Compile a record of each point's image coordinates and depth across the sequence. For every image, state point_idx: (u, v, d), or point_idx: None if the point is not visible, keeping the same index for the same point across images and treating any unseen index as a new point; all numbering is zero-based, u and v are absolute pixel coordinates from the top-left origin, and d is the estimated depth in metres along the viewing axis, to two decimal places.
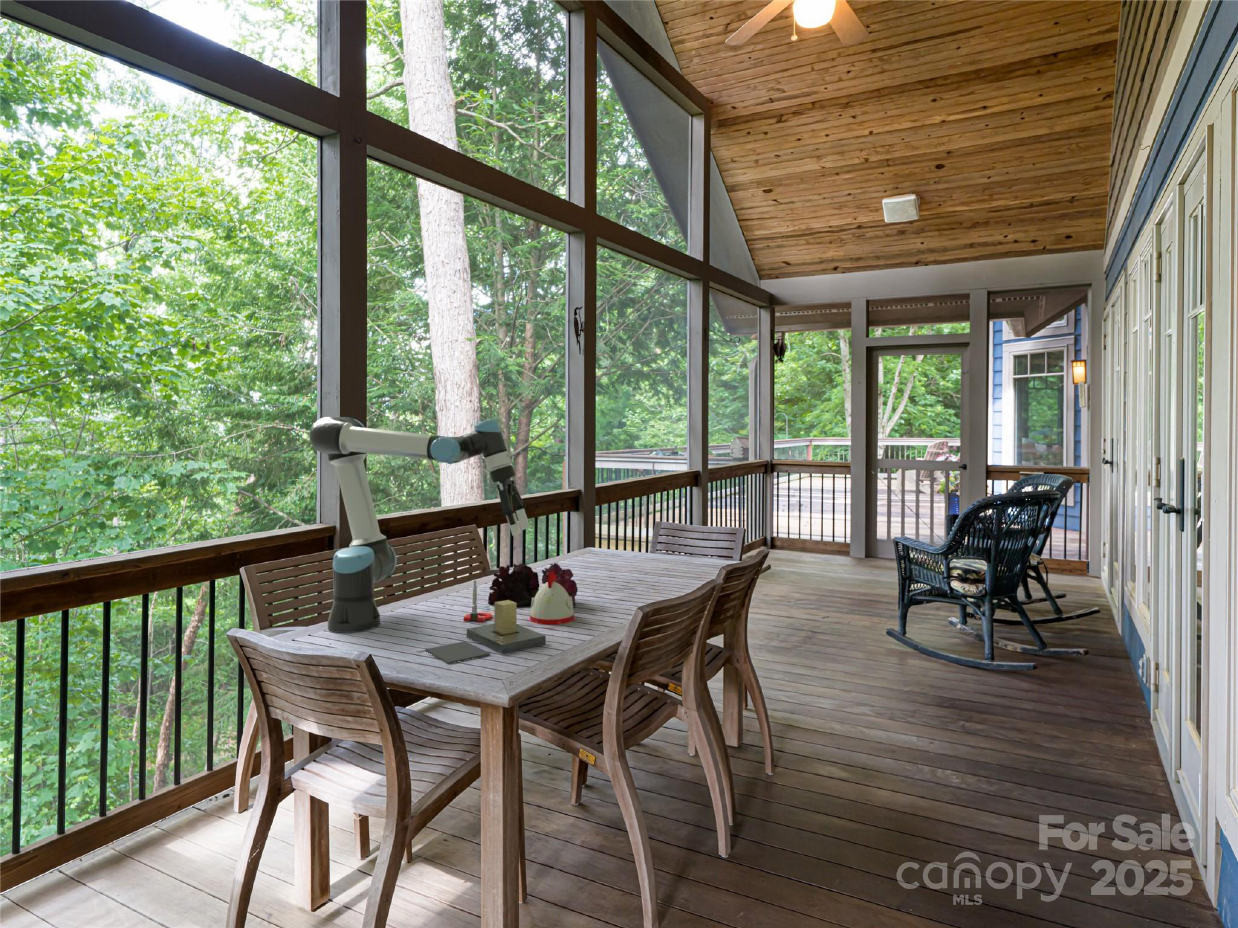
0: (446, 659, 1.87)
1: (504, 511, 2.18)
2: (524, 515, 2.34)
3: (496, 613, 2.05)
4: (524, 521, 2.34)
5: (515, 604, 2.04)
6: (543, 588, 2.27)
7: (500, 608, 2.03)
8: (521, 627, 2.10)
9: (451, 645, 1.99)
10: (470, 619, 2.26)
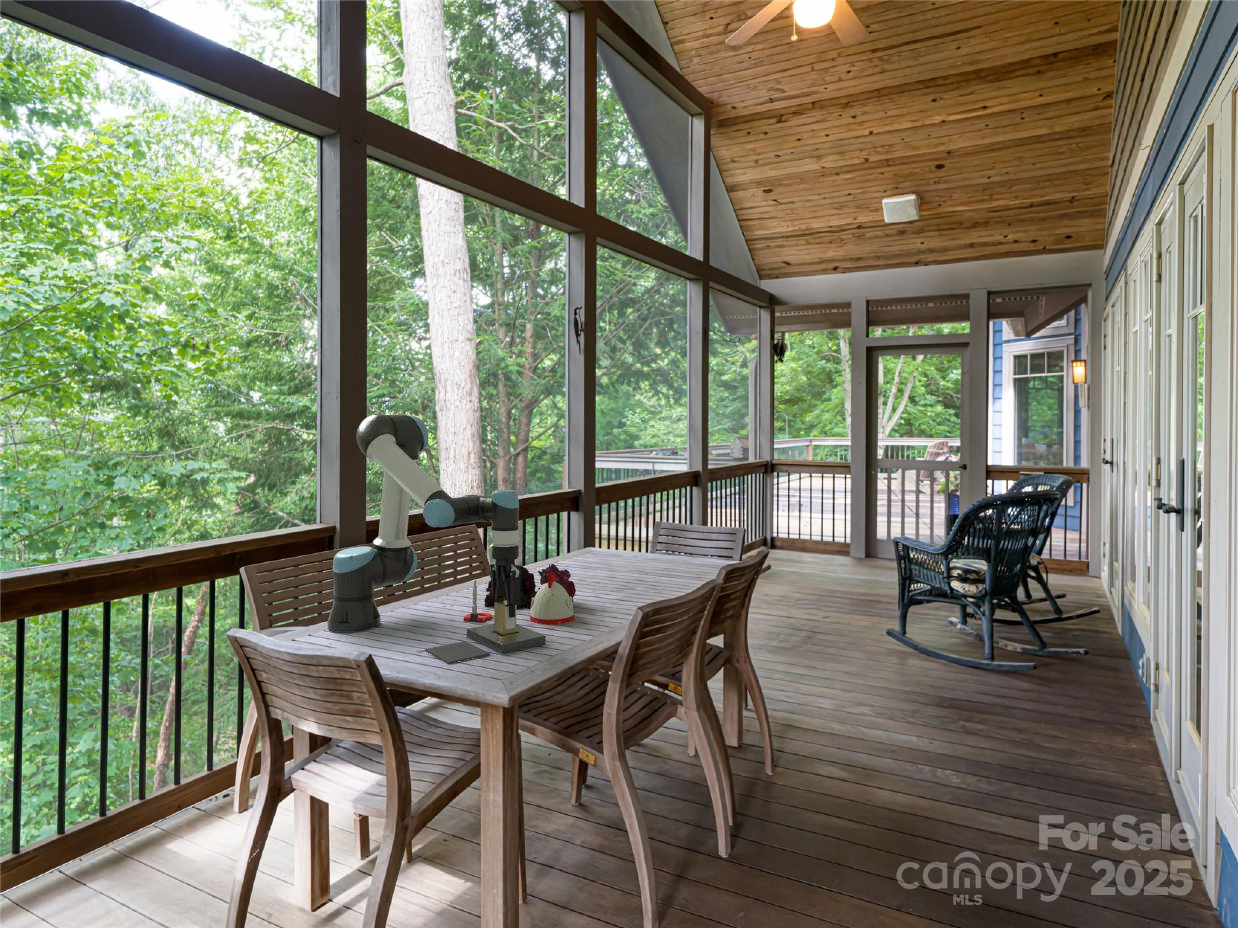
0: (446, 659, 1.87)
1: (514, 603, 2.00)
2: None
3: (496, 613, 2.05)
4: None
5: None
6: (543, 588, 2.27)
7: (500, 608, 2.03)
8: (521, 627, 2.10)
9: (451, 645, 1.99)
10: (470, 619, 2.26)
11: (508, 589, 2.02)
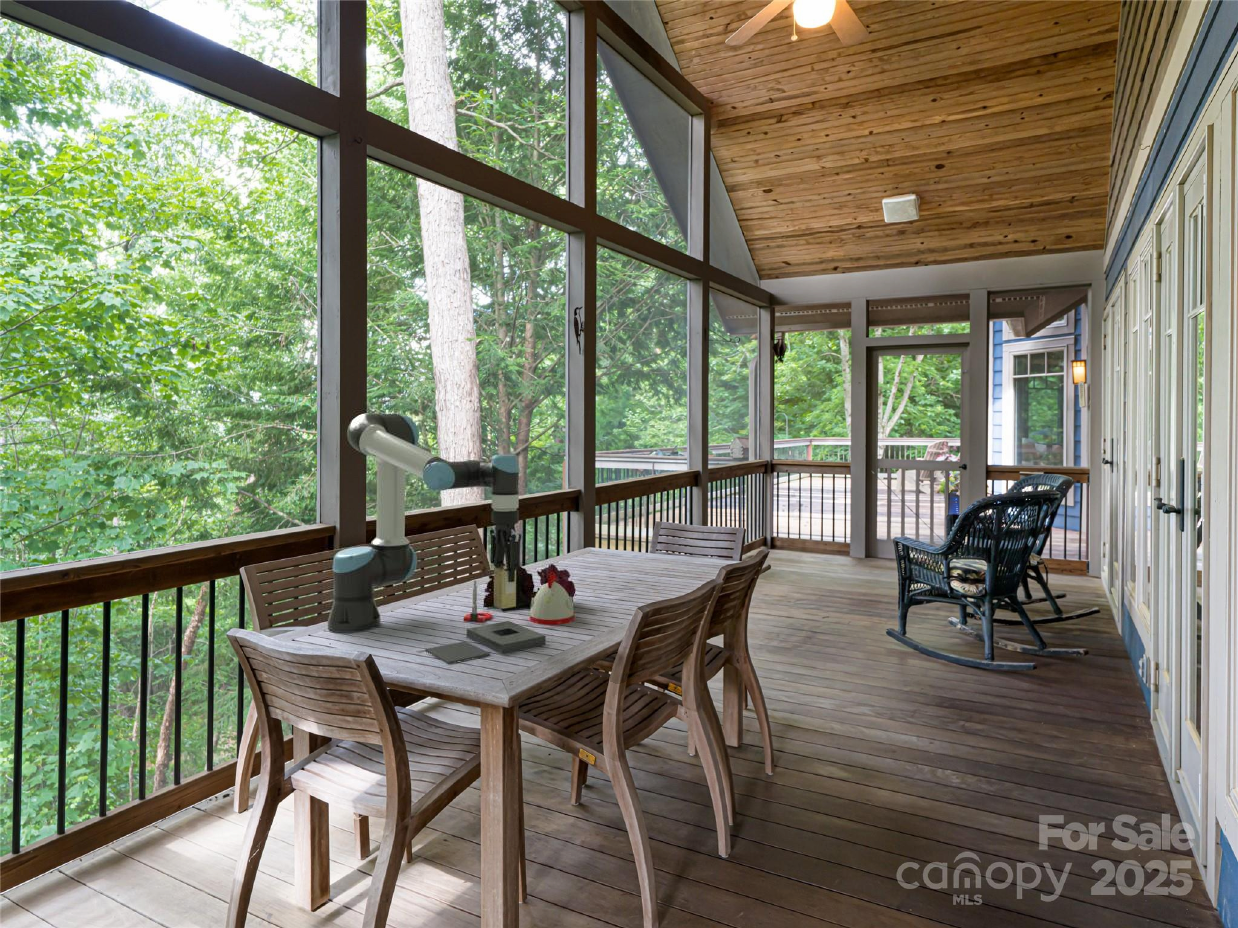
0: (446, 659, 1.87)
1: (513, 567, 2.00)
2: None
3: (495, 578, 2.04)
4: None
5: None
6: (543, 588, 2.27)
7: (499, 572, 2.02)
8: (521, 627, 2.10)
9: (451, 645, 1.99)
10: (470, 619, 2.26)
11: (507, 553, 2.01)
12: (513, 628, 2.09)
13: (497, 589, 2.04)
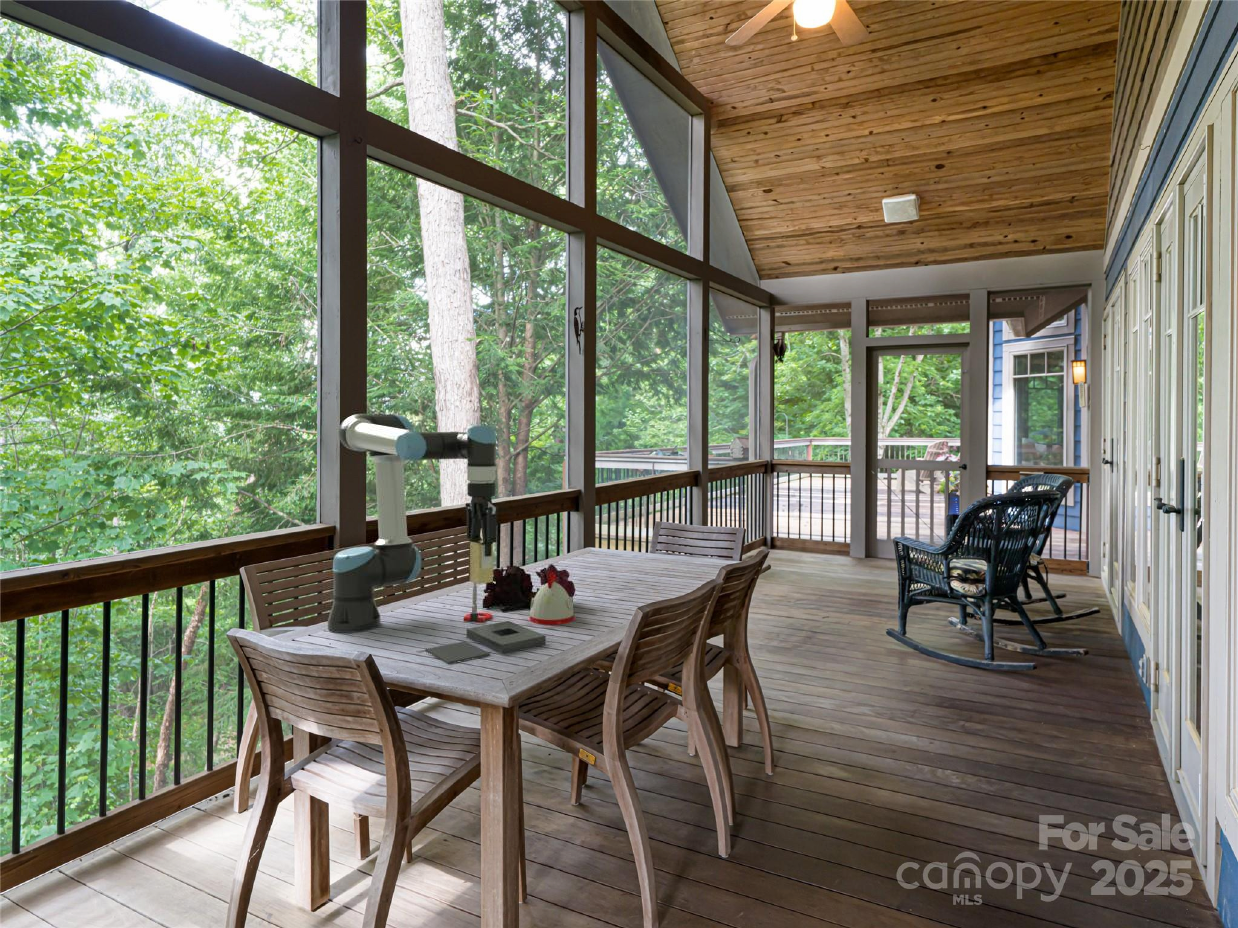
0: (446, 659, 1.87)
1: (490, 541, 1.94)
2: None
3: (472, 553, 1.98)
4: None
5: None
6: (543, 588, 2.27)
7: (476, 546, 1.96)
8: (521, 627, 2.10)
9: (451, 645, 1.99)
10: (470, 619, 2.26)
11: (484, 527, 1.95)
12: (513, 628, 2.09)
13: (473, 564, 1.97)
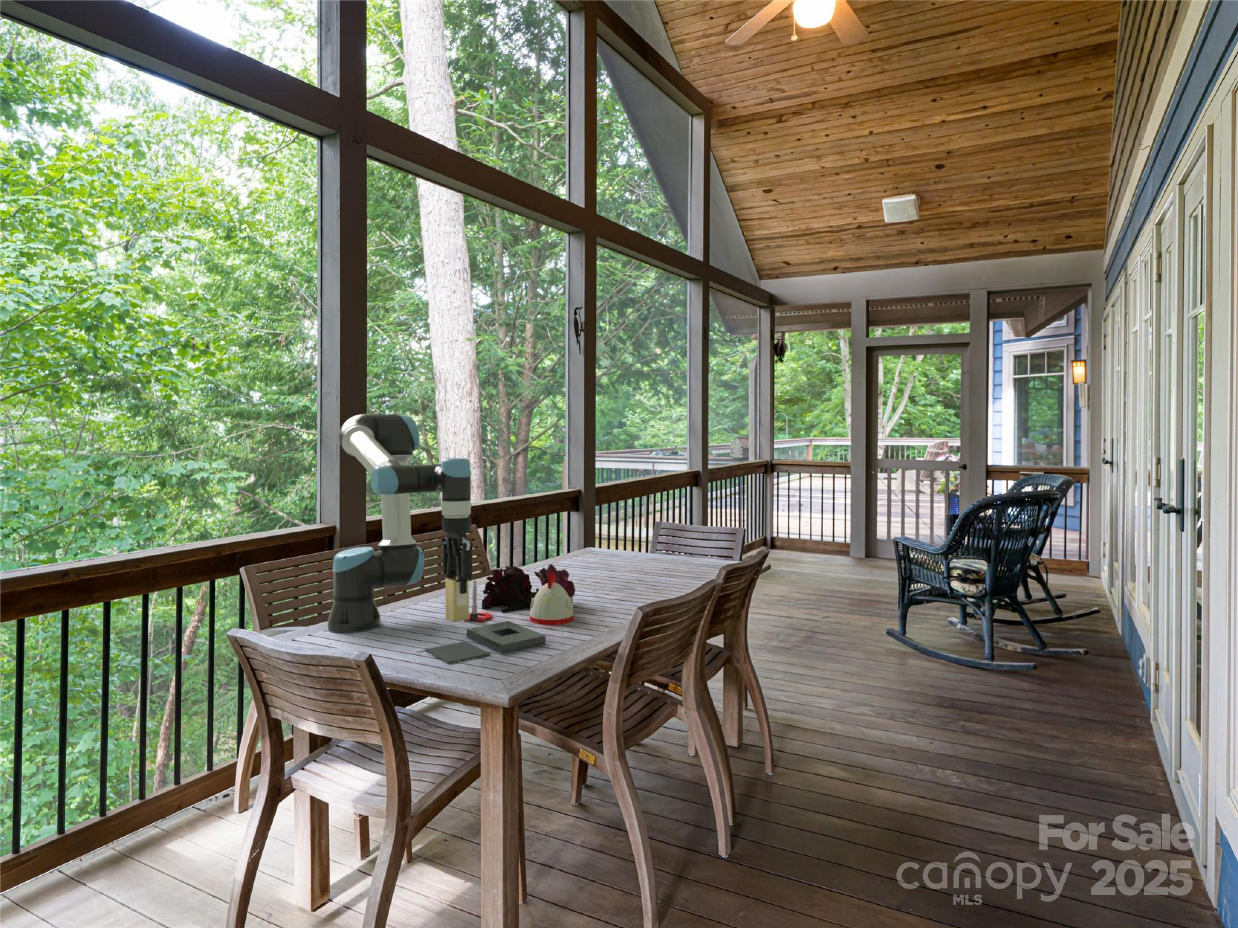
0: (446, 659, 1.87)
1: (465, 578, 1.88)
2: None
3: (447, 589, 1.92)
4: None
5: None
6: (543, 588, 2.27)
7: (451, 583, 1.90)
8: (521, 627, 2.10)
9: (451, 645, 1.99)
10: (470, 619, 2.26)
11: (459, 563, 1.89)
12: (513, 628, 2.09)
13: (448, 601, 1.92)
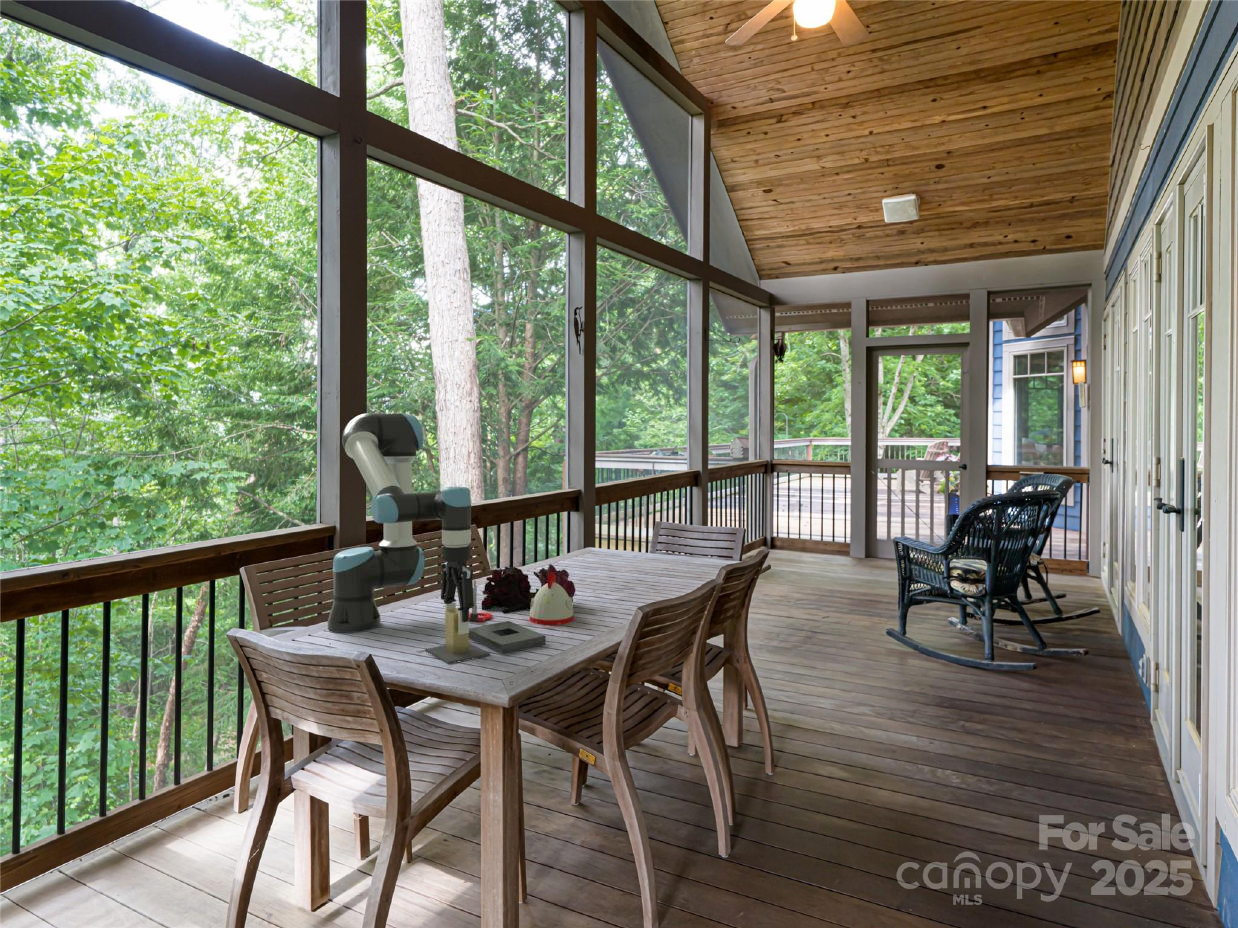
0: (446, 659, 1.87)
1: (467, 606, 1.87)
2: None
3: (447, 621, 1.93)
4: None
5: None
6: (543, 588, 2.27)
7: (451, 616, 1.91)
8: (521, 627, 2.10)
9: None
10: (470, 619, 2.26)
11: (460, 591, 1.89)
12: (513, 628, 2.09)
13: (448, 633, 1.92)
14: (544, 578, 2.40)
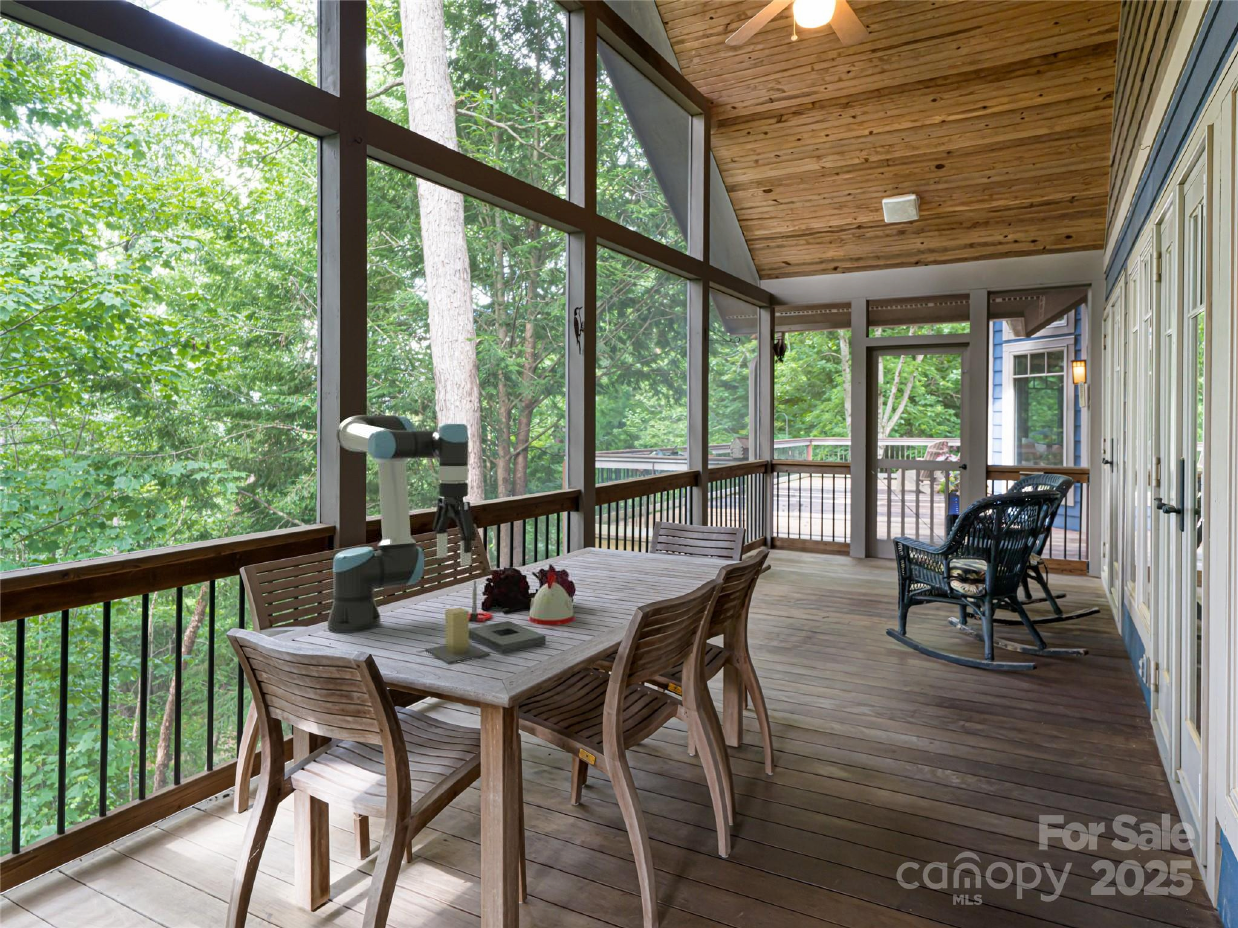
0: (446, 659, 1.87)
1: (469, 535, 1.85)
2: (446, 541, 1.98)
3: (447, 621, 1.93)
4: (443, 548, 1.98)
5: (467, 612, 1.93)
6: (543, 589, 2.27)
7: (451, 616, 1.91)
8: (521, 627, 2.10)
9: None
10: (470, 619, 2.26)
11: (460, 523, 1.88)
12: (513, 628, 2.09)
13: (448, 633, 1.92)
14: (545, 578, 2.40)
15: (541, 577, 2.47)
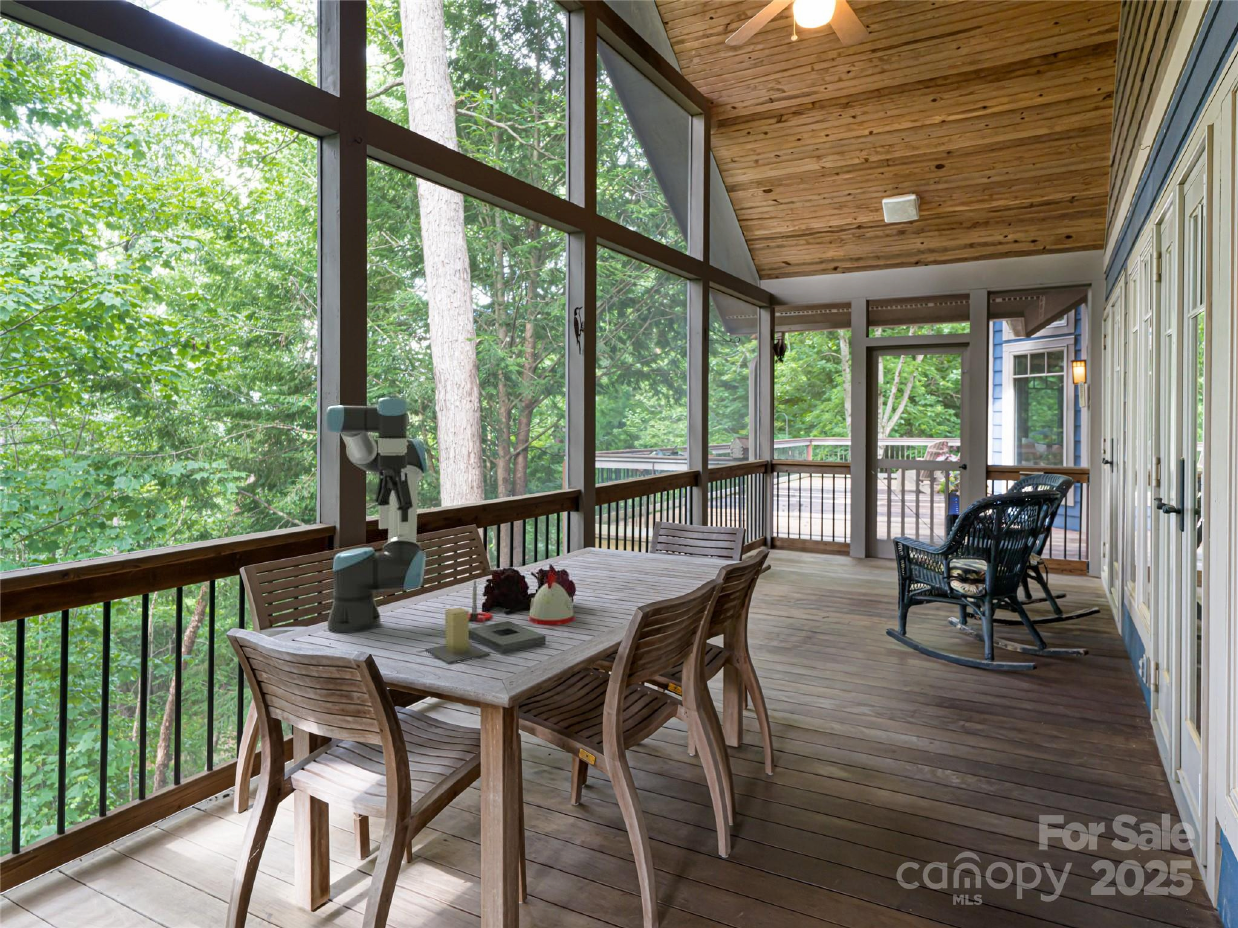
0: (446, 659, 1.87)
1: (405, 505, 1.91)
2: (387, 513, 2.05)
3: (447, 621, 1.93)
4: (385, 519, 2.05)
5: (467, 612, 1.93)
6: (543, 589, 2.27)
7: (451, 616, 1.91)
8: (521, 627, 2.10)
9: None
10: (470, 619, 2.26)
11: (397, 494, 1.94)
12: (513, 628, 2.09)
13: (448, 633, 1.92)
14: (546, 578, 2.40)
15: (541, 577, 2.47)
